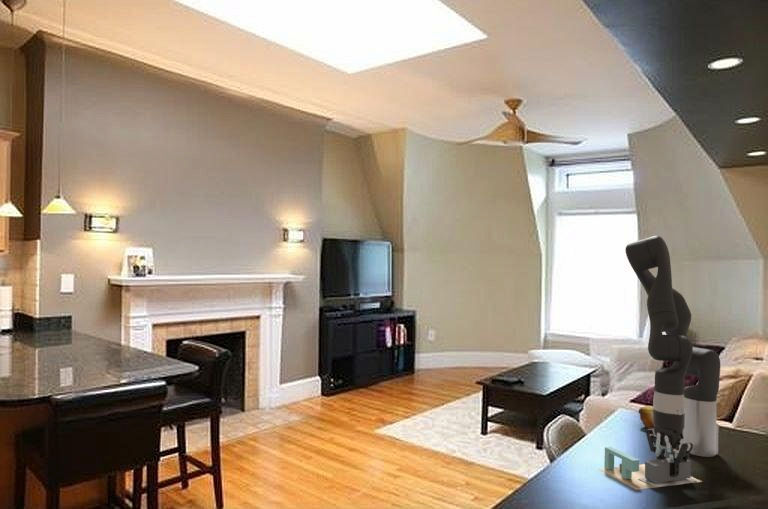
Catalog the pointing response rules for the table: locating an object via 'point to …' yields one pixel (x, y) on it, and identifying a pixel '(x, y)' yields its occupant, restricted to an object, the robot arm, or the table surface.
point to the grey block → (665, 470)
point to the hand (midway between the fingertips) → (667, 473)
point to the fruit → (647, 416)
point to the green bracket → (628, 462)
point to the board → (643, 478)
